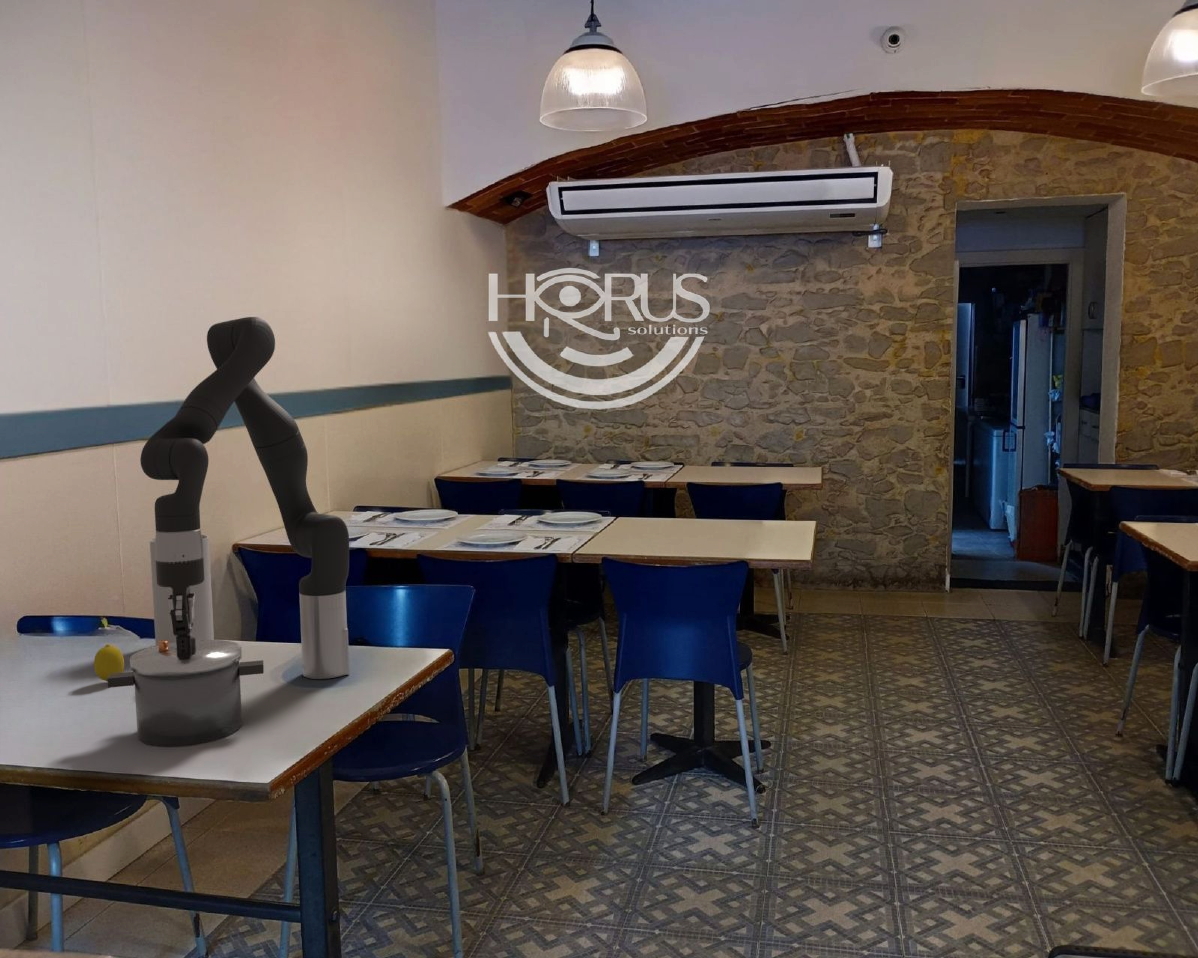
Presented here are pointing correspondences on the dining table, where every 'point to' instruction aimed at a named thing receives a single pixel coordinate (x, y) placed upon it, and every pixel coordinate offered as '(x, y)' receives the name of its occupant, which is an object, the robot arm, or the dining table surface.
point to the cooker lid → (201, 660)
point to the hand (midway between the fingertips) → (184, 656)
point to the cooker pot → (187, 704)
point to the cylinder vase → (202, 603)
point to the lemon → (108, 662)
